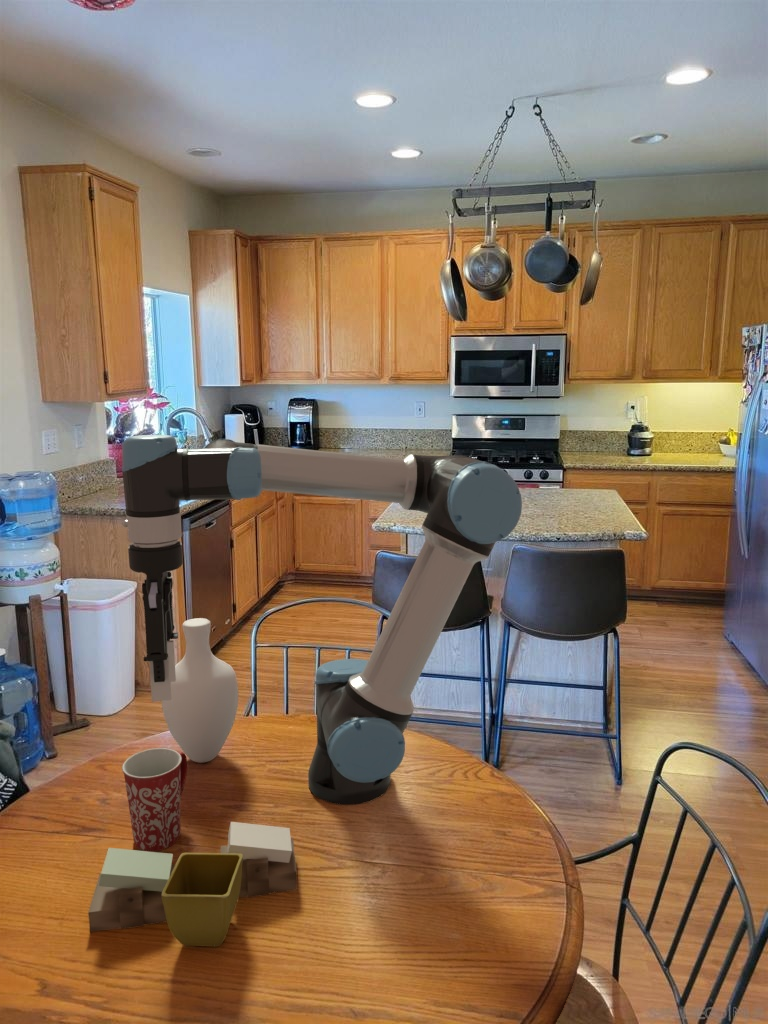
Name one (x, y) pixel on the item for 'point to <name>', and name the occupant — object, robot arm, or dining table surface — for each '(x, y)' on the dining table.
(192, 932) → the flower pot
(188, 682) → the vase
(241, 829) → the block
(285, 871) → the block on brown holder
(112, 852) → the rocker green
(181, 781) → the mug
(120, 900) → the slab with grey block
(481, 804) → the dining table surface
